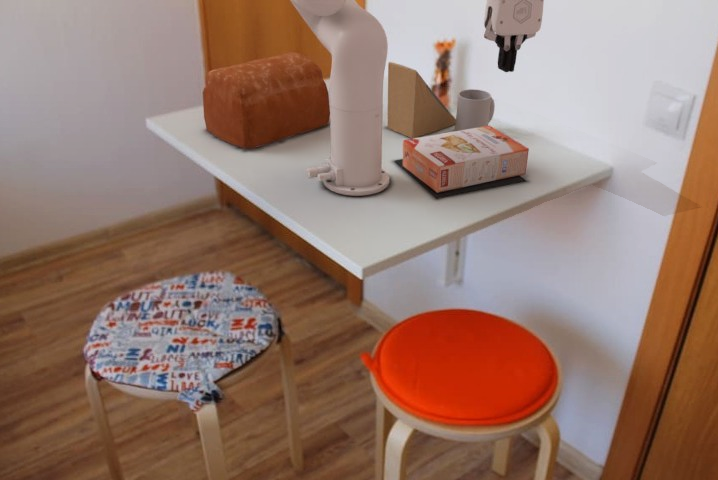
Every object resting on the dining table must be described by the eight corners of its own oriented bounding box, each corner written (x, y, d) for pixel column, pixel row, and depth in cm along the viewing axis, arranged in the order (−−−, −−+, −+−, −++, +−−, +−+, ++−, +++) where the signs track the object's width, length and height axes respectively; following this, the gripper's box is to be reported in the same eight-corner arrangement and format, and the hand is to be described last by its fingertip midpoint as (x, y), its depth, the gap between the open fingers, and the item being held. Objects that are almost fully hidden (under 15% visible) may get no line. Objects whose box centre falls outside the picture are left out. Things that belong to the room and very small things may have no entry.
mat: (436, 198, 134) (436, 197, 134) (394, 161, 147) (394, 160, 147) (526, 181, 142) (526, 180, 141) (478, 147, 155) (478, 146, 155)
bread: (336, 124, 163) (334, 59, 155) (247, 153, 148) (241, 82, 139) (287, 105, 172) (284, 42, 164) (199, 130, 157) (191, 62, 149)
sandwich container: (460, 122, 167) (465, 57, 159) (413, 139, 158) (416, 70, 149) (433, 112, 172) (437, 49, 164) (386, 127, 163) (388, 61, 154)
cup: (448, 131, 162) (451, 93, 157) (480, 122, 167) (483, 85, 163) (470, 142, 157) (474, 102, 152) (502, 132, 163) (507, 94, 158)
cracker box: (530, 146, 140) (438, 165, 131) (526, 174, 143) (437, 195, 134) (489, 122, 150) (401, 139, 141) (486, 149, 153) (400, 167, 144)
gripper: (494, -29, 121) (482, 79, 131) (566, -31, 127) (549, 72, 137) (471, -37, 127) (461, 67, 137) (541, -39, 133) (526, 61, 143)
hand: (505, 69), depth 137 cm, fingers closed
